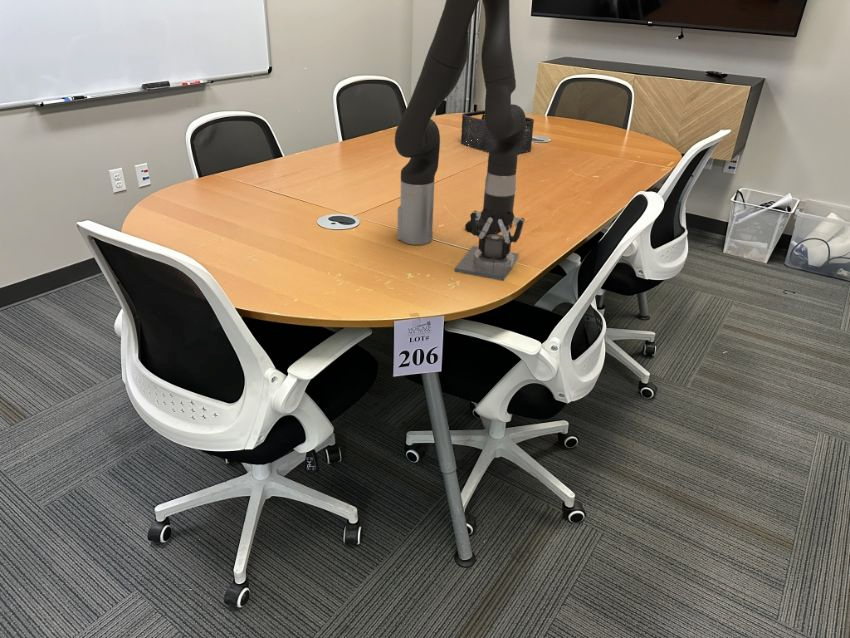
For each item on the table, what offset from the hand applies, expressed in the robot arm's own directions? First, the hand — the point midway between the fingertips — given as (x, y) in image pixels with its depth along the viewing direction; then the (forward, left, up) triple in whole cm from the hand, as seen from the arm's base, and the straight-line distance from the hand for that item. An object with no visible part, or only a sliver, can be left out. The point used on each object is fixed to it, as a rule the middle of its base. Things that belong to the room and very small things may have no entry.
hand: (494, 252), depth 159 cm
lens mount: (-1, 0, -3) cm, 4 cm away
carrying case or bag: (-8, +26, -4) cm, 28 cm away
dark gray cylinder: (0, 0, -2) cm, 2 cm away
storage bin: (-33, +121, -4) cm, 126 cm away
